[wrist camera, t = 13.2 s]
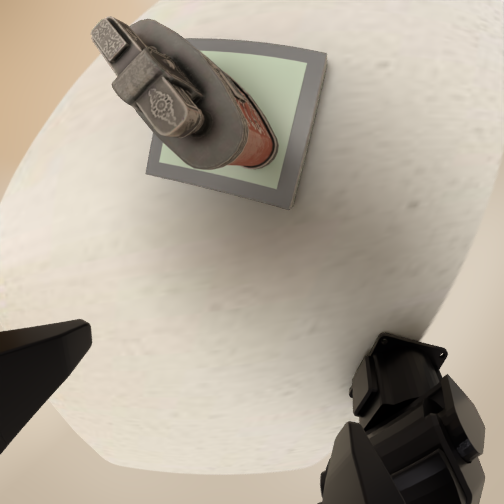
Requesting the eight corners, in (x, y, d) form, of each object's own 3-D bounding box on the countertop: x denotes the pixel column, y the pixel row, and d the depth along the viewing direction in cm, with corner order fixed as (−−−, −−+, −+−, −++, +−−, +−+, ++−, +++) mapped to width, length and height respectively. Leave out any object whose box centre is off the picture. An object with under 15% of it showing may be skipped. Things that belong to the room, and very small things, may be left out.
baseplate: (327, 64, 16) (326, 52, 14) (292, 206, 19) (288, 210, 17) (190, 47, 18) (177, 38, 16) (160, 173, 21) (144, 174, 19)
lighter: (292, 147, 16) (245, 117, 7) (246, 181, 17) (154, 197, 8) (213, 54, 16) (118, -19, 6) (174, 88, 17) (60, 45, 7)
